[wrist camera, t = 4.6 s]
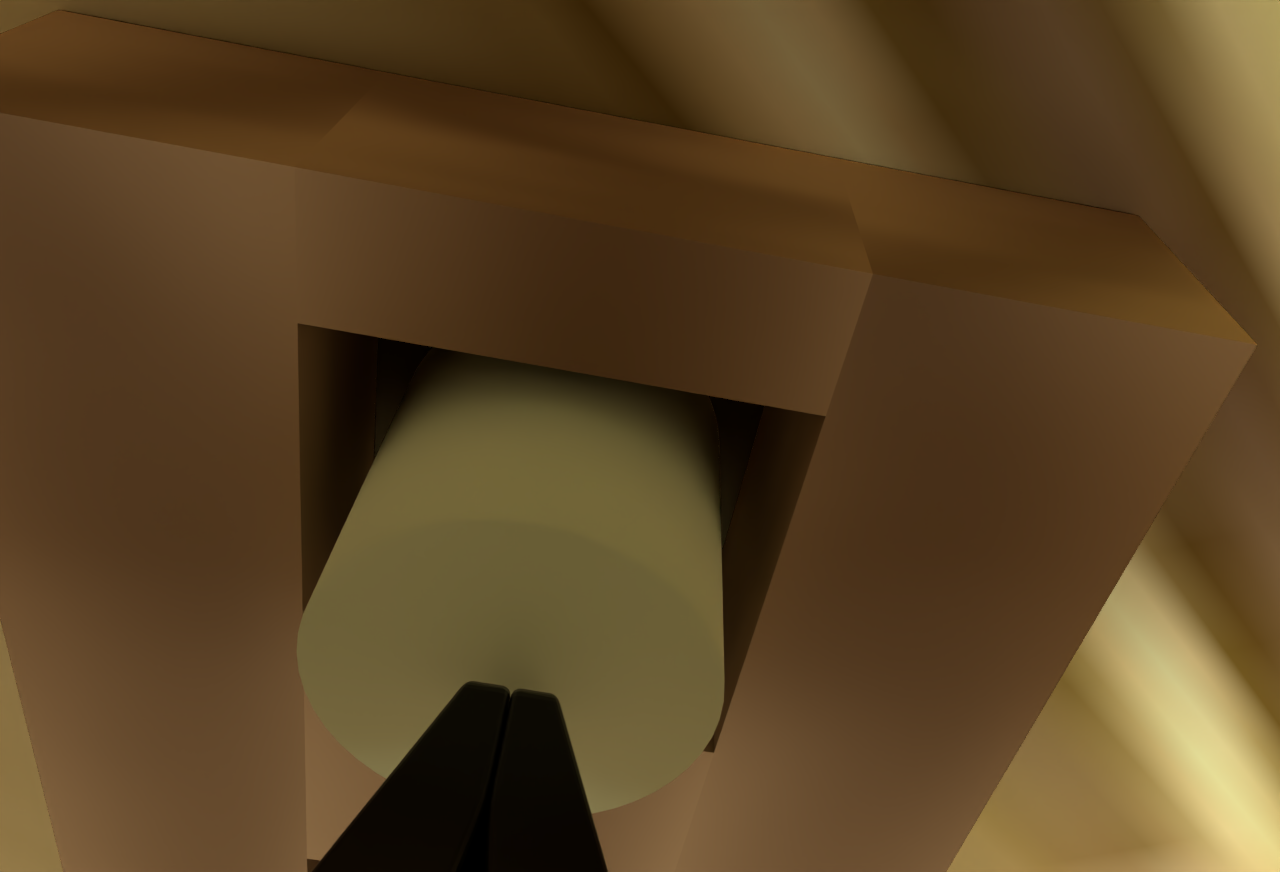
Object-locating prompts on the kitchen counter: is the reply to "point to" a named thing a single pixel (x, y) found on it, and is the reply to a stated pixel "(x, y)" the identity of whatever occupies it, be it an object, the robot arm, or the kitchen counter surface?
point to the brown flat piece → (568, 340)
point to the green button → (530, 569)
